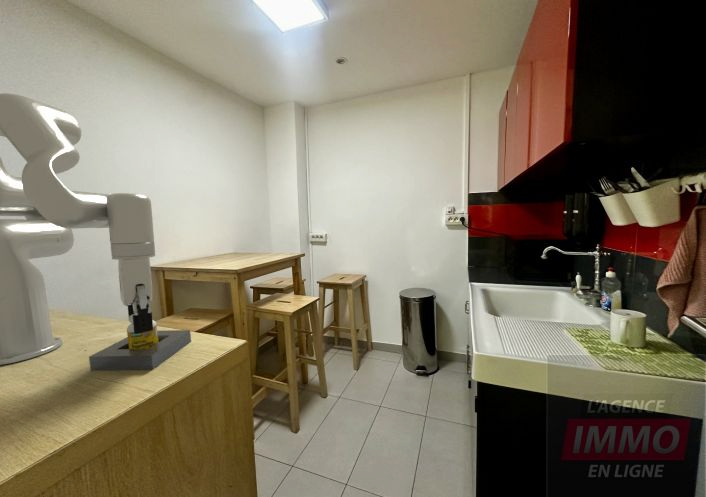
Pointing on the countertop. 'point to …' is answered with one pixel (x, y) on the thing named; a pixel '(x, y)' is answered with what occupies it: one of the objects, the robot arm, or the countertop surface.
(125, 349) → the square hole block
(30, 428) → the countertop surface
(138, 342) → the supplement bottle
